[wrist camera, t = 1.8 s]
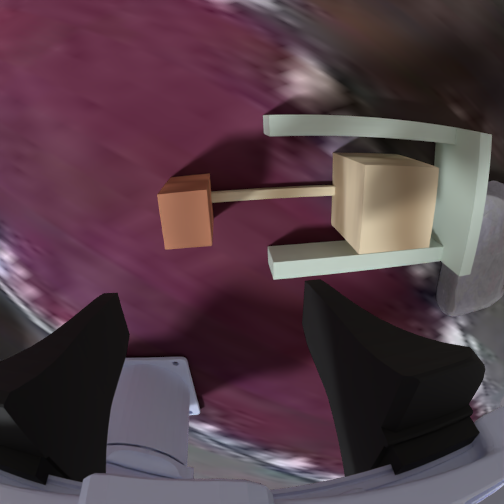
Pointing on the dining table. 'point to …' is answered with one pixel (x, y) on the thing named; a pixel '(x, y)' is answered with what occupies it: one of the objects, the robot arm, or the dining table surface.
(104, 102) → the dining table surface
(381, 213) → the tethered block
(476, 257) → the stone block
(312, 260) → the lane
